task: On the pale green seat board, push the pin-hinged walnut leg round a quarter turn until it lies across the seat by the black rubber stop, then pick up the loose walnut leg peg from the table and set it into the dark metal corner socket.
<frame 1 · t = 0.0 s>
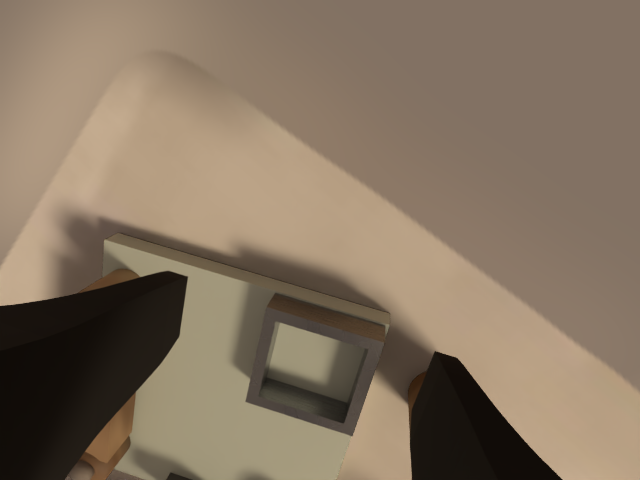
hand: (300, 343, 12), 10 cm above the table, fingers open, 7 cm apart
loose leg: (439, 395, 23), on the table
folding leg: (99, 405, 24), point 3 cm above the table, hinge at 0.0°
seat board: (227, 389, 26), on the table
socket: (316, 355, 22), resting on seat board
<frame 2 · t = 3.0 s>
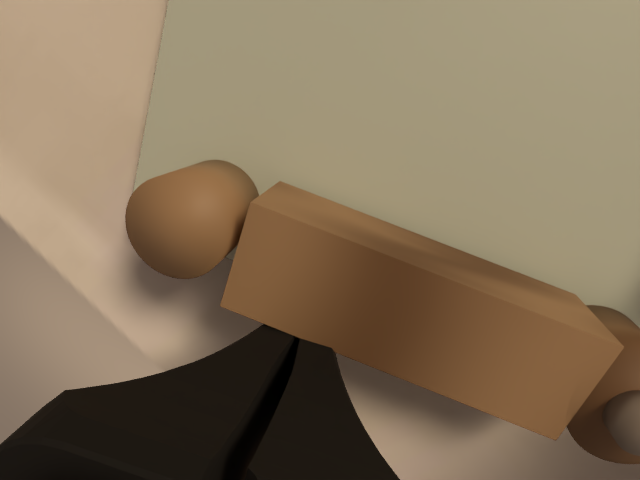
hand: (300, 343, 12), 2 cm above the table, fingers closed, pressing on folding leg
folding leg: (453, 323, 10), point 3 cm above the table, hinge at 0.0°, touching gripper
seat board: (503, 41, 10), on the table
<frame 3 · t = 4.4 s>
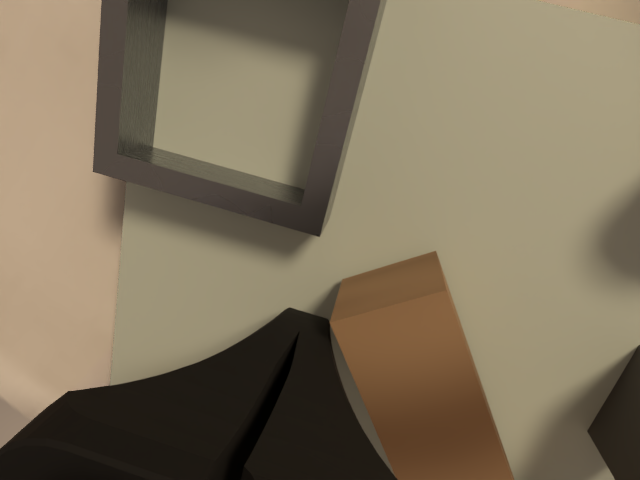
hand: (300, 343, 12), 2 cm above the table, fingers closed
folding leg: (452, 459, 11), point 3 cm above the table, hinge at -54.2°, touching gripper
seat board: (387, 280, 13), on the table
socket: (246, 80, 11), resting on seat board
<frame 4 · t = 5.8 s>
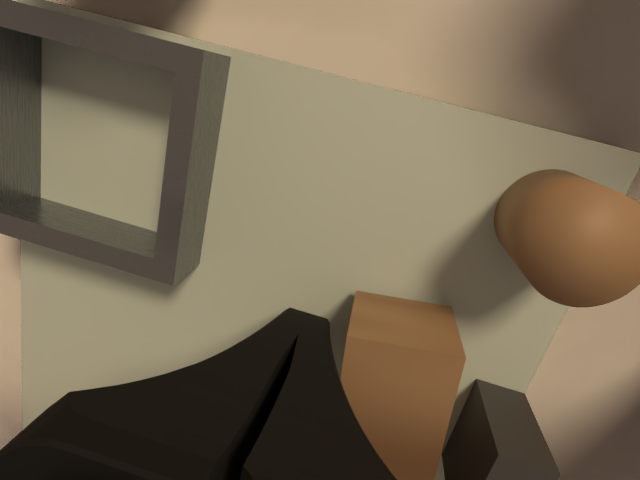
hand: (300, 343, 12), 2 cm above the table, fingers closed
seat board: (266, 314, 14), on the table
socket: (116, 141, 12), resting on seat board
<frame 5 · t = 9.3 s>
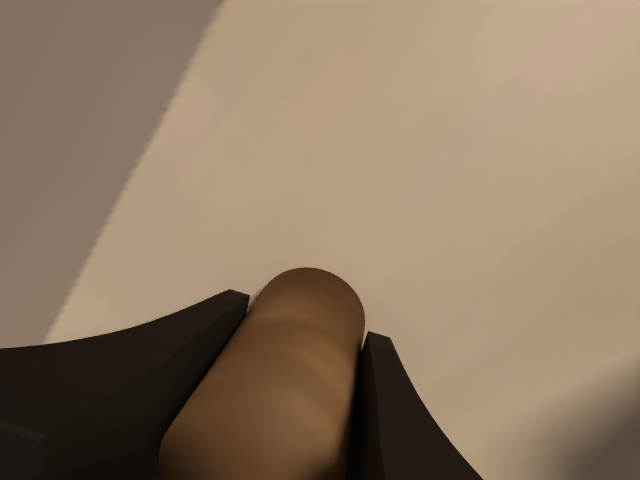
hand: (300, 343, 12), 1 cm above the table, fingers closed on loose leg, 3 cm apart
loose leg: (310, 318, 13), on the table, touching gripper
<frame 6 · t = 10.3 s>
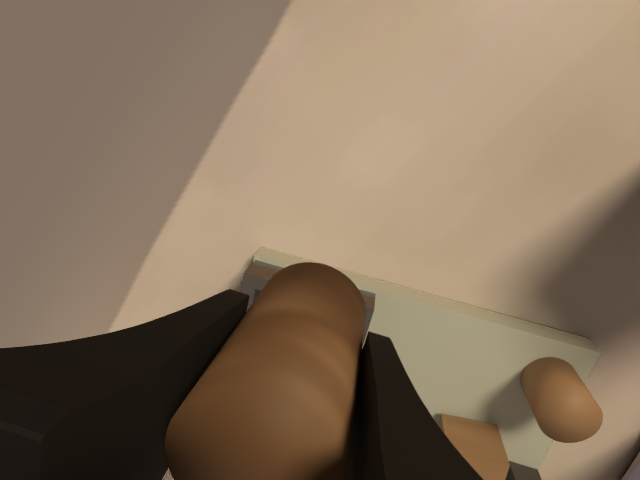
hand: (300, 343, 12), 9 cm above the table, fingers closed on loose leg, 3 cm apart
loose leg: (312, 312, 13), point 7 cm above the table, touching gripper
seat board: (376, 415, 23), on the table
socket: (301, 329, 21), resting on seat board
when the fingers open (4 cm above the table, at t = 11.8 s): loose leg drops 1 cm, resting on seat board.
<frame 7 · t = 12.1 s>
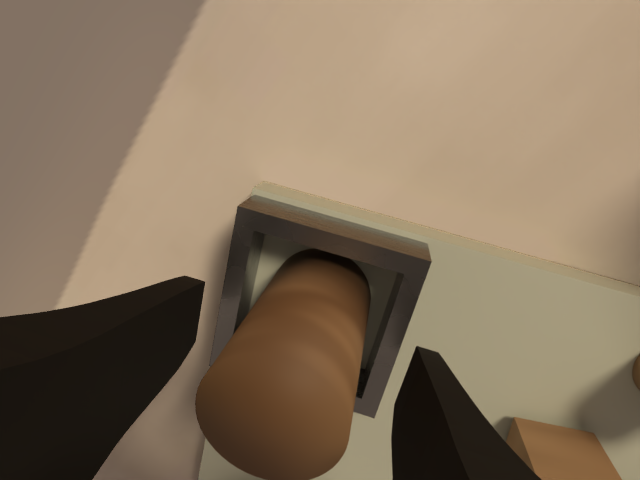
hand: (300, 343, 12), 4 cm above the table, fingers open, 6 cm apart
loose leg: (321, 294, 15), point 1 cm above the table, touching seat board
seat board: (415, 418, 17), on the table
socket: (318, 296, 15), resting on seat board
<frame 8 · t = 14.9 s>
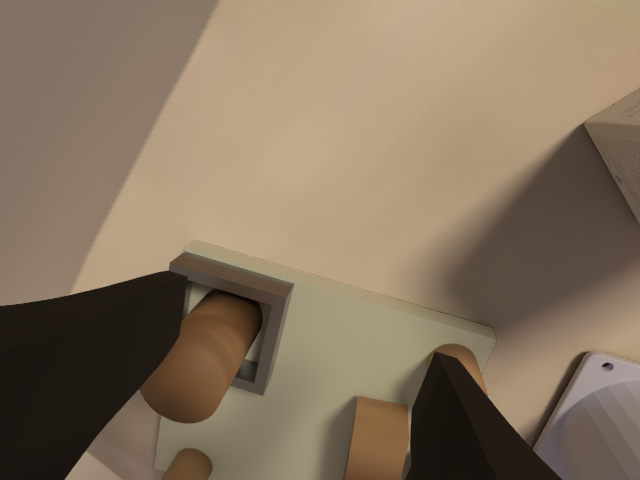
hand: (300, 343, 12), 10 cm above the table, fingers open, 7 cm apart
loose leg: (231, 315, 22), point 1 cm above the table, touching seat board
seat board: (305, 398, 25), on the table
socket: (230, 316, 22), resting on seat board
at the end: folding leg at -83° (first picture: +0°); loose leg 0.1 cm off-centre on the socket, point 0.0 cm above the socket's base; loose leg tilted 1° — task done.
